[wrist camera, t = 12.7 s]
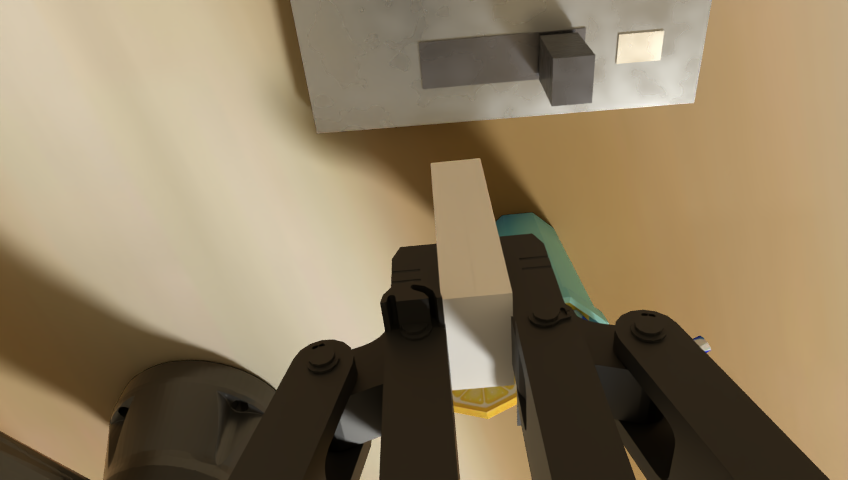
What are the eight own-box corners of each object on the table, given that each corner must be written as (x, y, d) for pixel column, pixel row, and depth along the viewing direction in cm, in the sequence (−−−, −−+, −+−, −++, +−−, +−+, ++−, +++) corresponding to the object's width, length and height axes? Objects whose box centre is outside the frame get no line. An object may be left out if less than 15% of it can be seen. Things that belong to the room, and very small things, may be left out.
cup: (606, 150, 38) (693, 300, 26) (643, 238, 42) (735, 406, 30) (416, 238, 42) (413, 406, 30) (466, 311, 46) (482, 487, 34)
